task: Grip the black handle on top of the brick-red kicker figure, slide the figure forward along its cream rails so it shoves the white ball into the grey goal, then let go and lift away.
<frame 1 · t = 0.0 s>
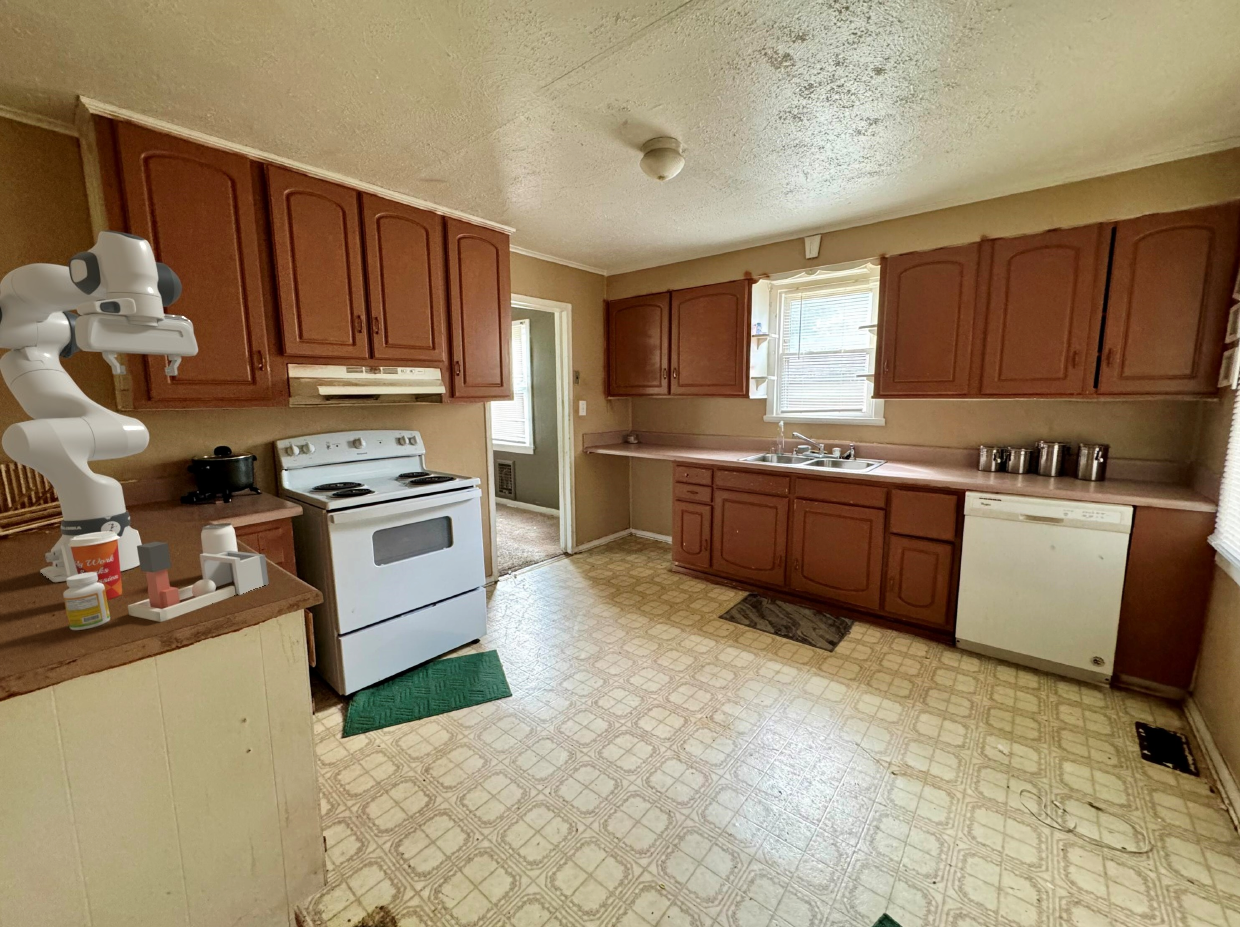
hand: (146, 374, 111), 48 cm above the countertop, tool pointing down, fingers open, 8 cm apart
paper cup: (104, 598, 110), on the countertop
goal: (234, 587, 113), on the countertop
ball: (203, 588, 107), point 2 cm above the countertop
can: (224, 574, 123), on the countertop
supplement bottle: (90, 625, 96), on the countertop
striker: (157, 577, 100), point 7 cm above the countertop, slide at 0.0 cm
white flat open frame: (184, 604, 104), on the countertop
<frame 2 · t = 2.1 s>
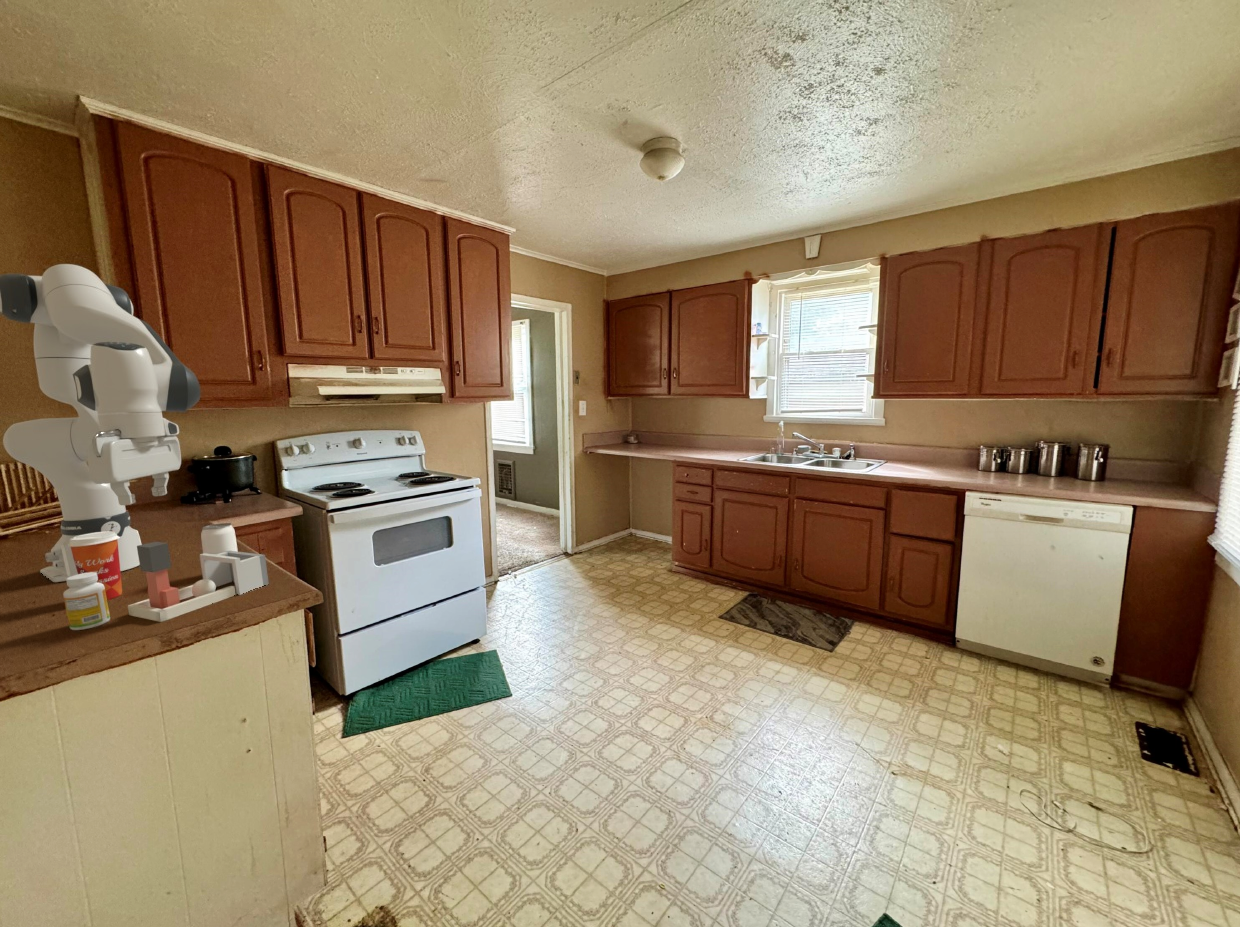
hand: (144, 499, 97), 23 cm above the countertop, tool pointing down, fingers open, 8 cm apart
nothing on the countertop moved.
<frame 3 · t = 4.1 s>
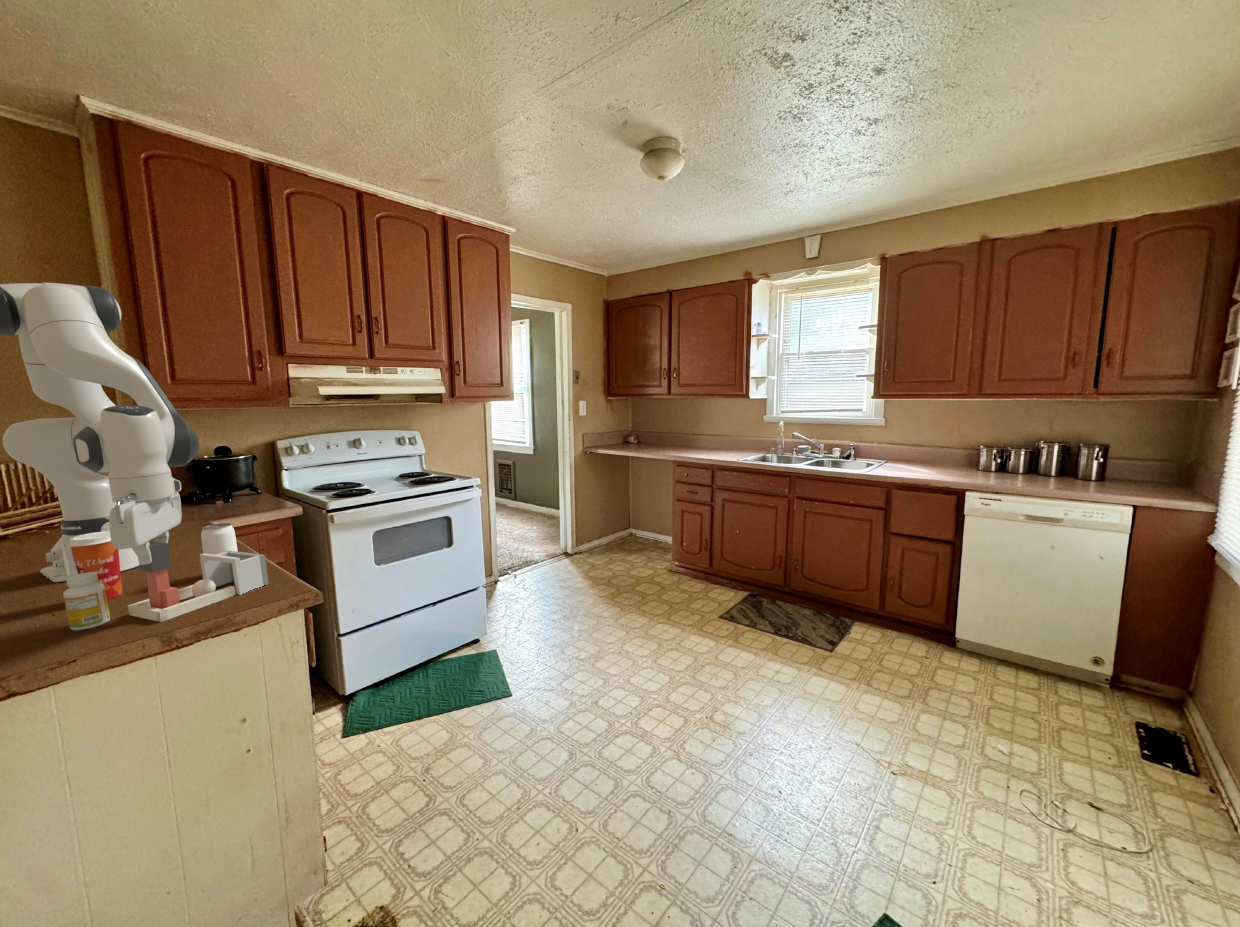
hand: (154, 558, 99), 11 cm above the countertop, tool pointing down, fingers closed on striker, 5 cm apart
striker: (157, 577, 100), point 7 cm above the countertop, slide at 0.0 cm, touching gripper
everything else where it was.
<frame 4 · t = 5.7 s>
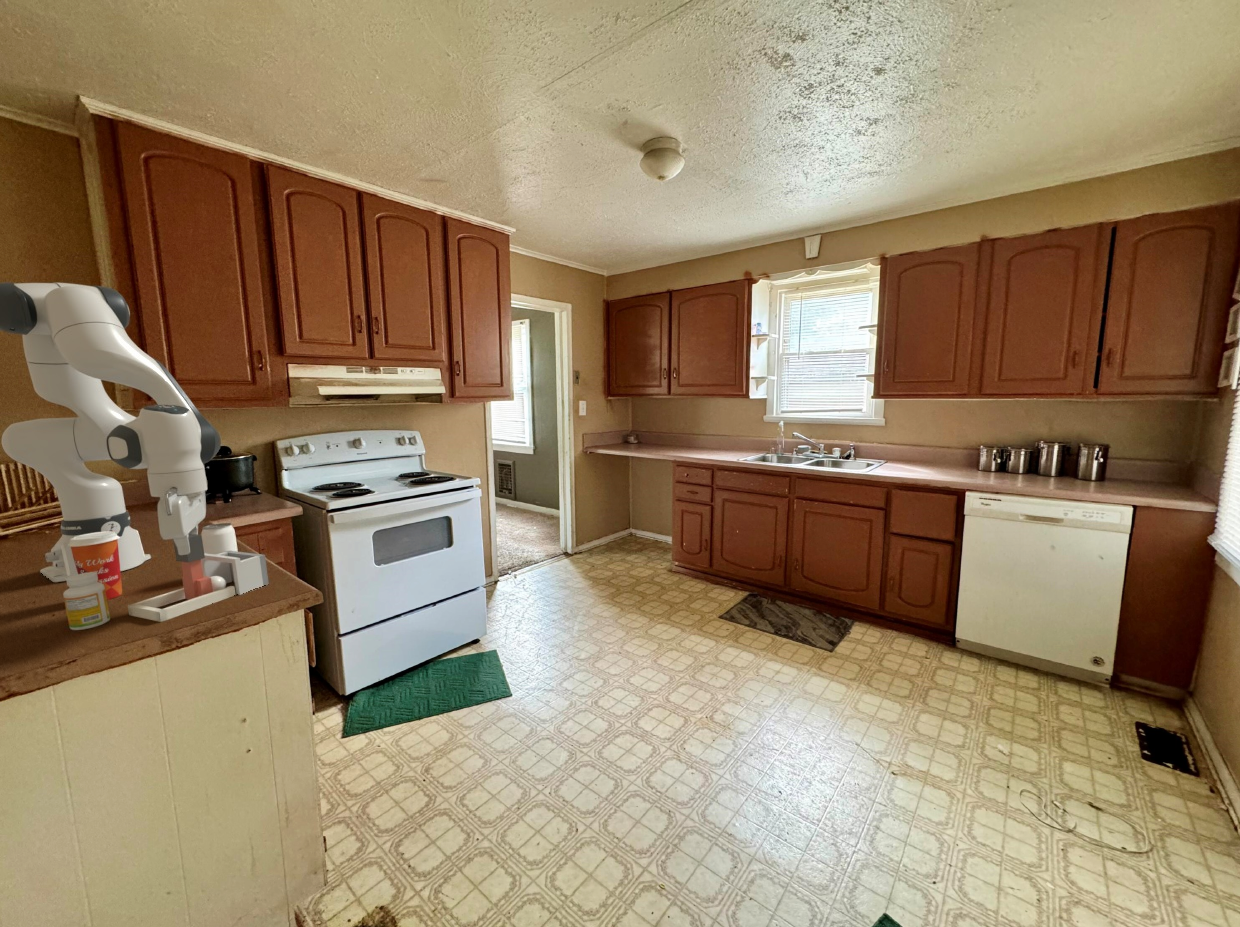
hand: (188, 549, 105), 11 cm above the countertop, tool pointing down, fingers closed on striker, 5 cm apart
ball: (214, 585, 109), point 2 cm above the countertop, tilted 55°
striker: (192, 567, 105), point 7 cm above the countertop, slide at 6.0 cm, touching gripper
everything else where it was.
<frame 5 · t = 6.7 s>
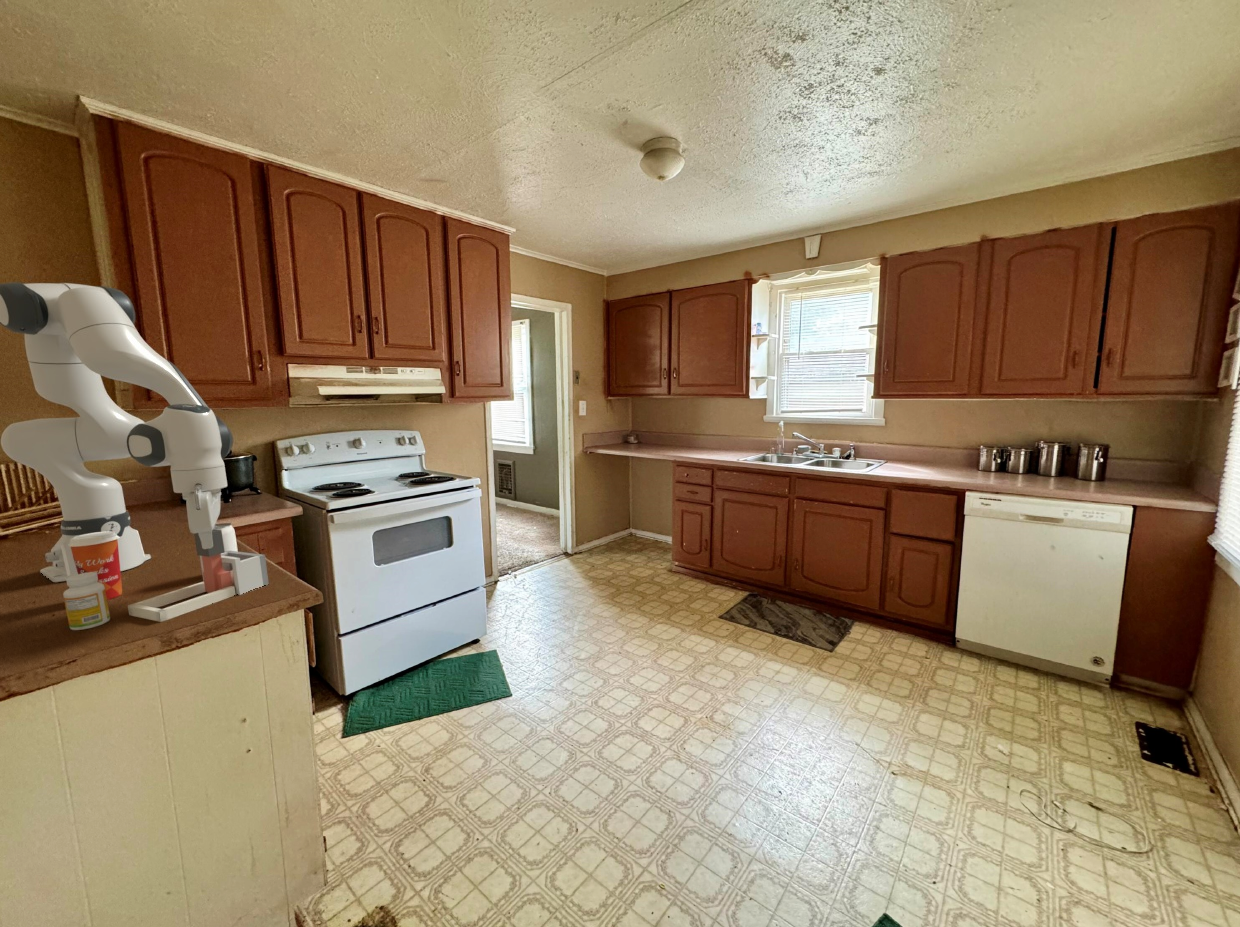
hand: (209, 544, 108), 11 cm above the countertop, tool pointing down, fingers closed on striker, 5 cm apart
ball: (235, 578, 113), point 2 cm above the countertop, tilted 177°
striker: (212, 561, 109), point 7 cm above the countertop, slide at 9.8 cm, touching goal, gripper
everything else where it was.
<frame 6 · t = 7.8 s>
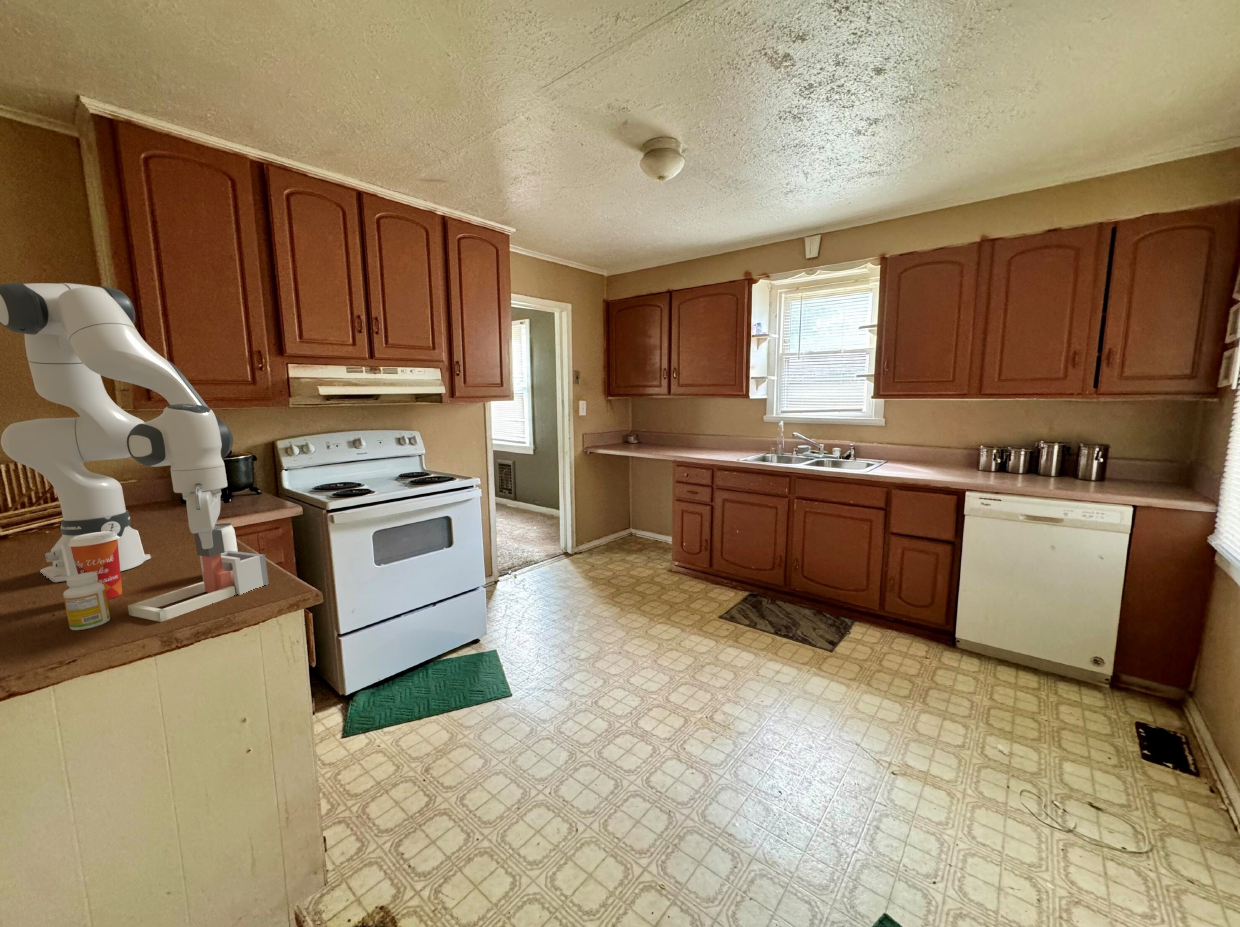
hand: (209, 544, 108), 11 cm above the countertop, tool pointing down, fingers closed on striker, 5 cm apart
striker: (212, 561, 109), point 7 cm above the countertop, slide at 9.8 cm, touching goal, gripper
everything else where it was.
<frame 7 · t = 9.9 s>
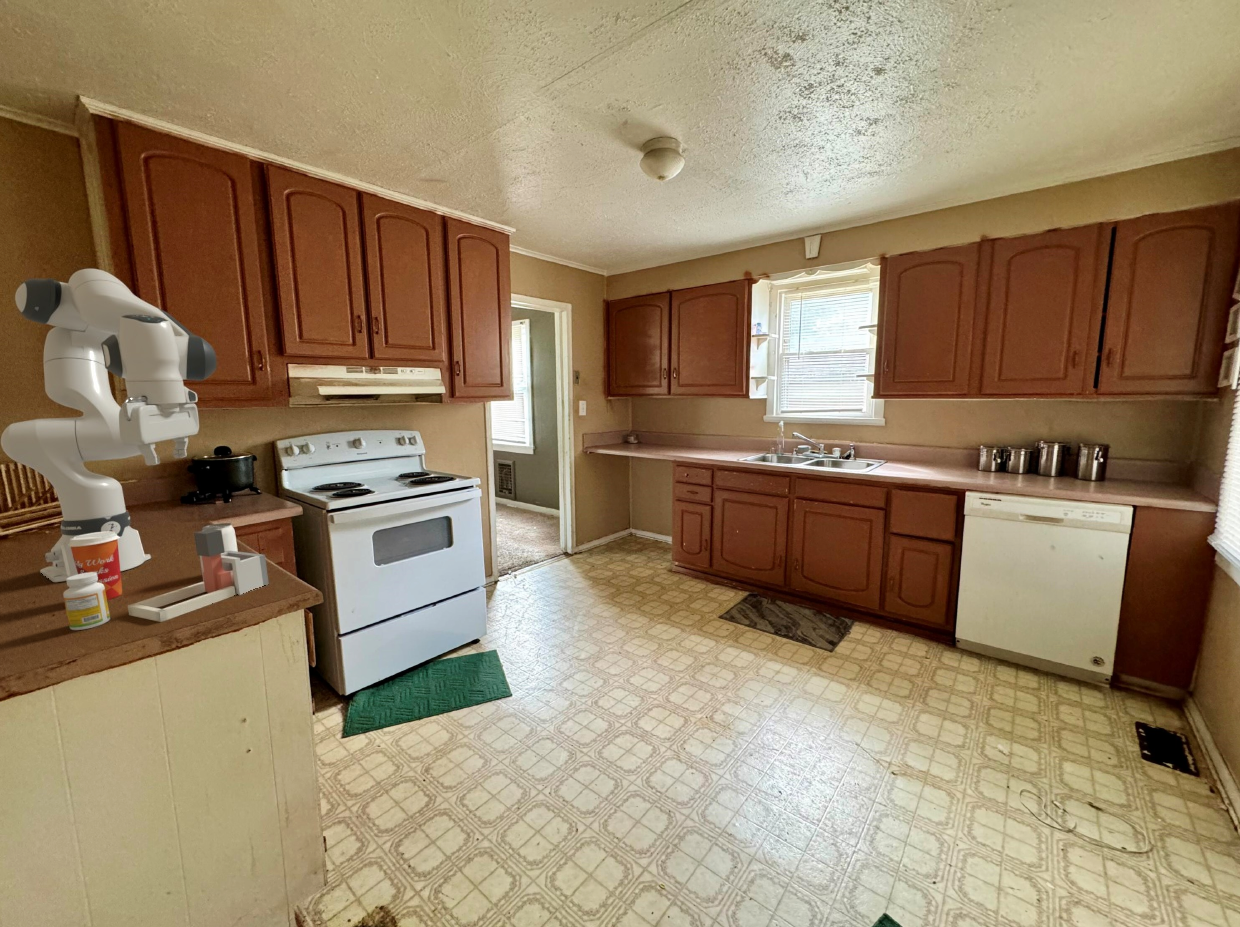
hand: (167, 461, 106), 29 cm above the countertop, tool pointing down, fingers open, 8 cm apart
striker: (212, 561, 109), point 7 cm above the countertop, slide at 9.8 cm, touching goal
everything else where it was.
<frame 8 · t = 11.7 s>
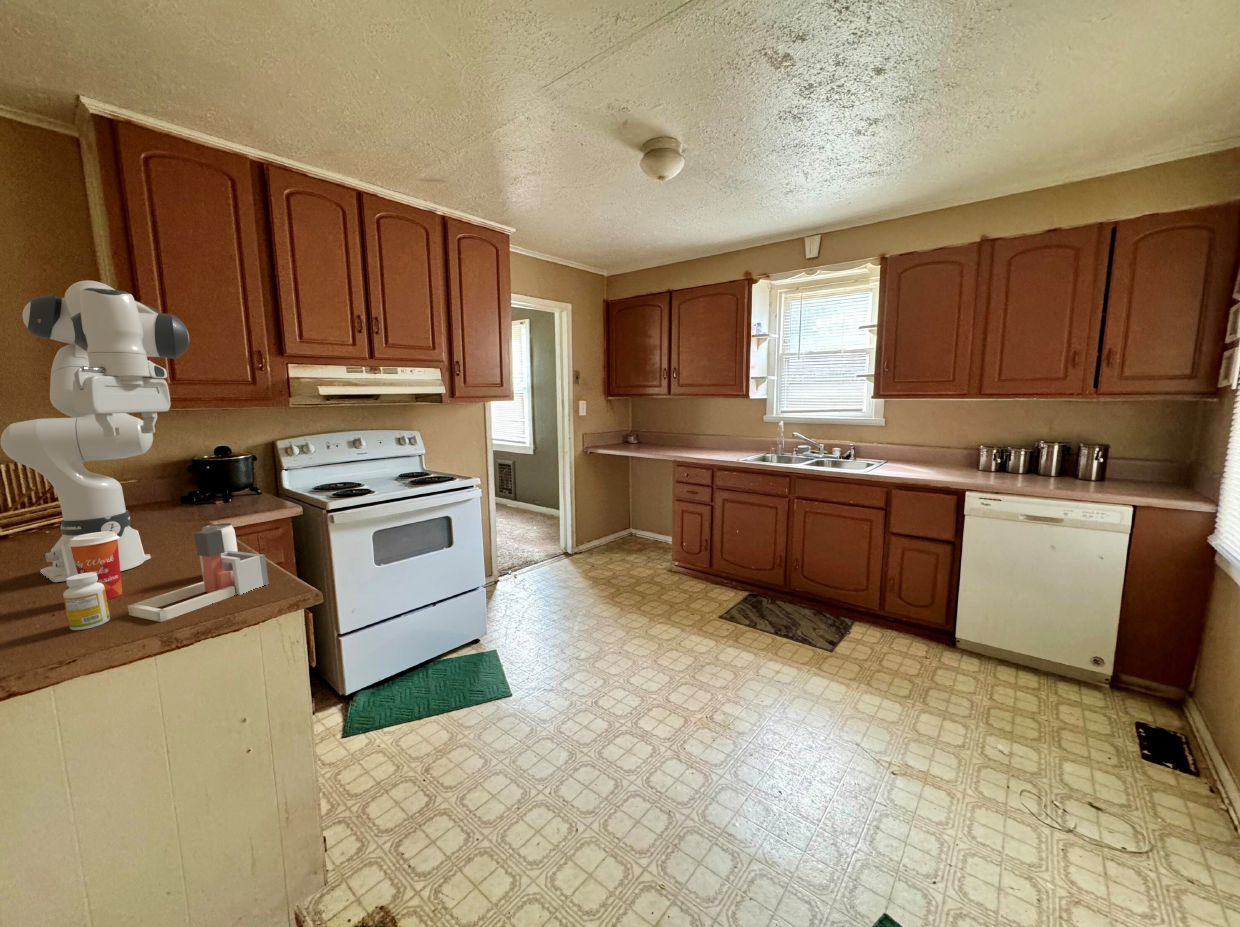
hand: (131, 434, 106), 35 cm above the countertop, tool pointing down, fingers open, 8 cm apart
nothing on the countertop moved.
at the end: ball inside the target area (0.5 cm from its centre), point 2.0 cm above the countertop; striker slide at 9.8 cm; the gripper is holding nothing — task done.
